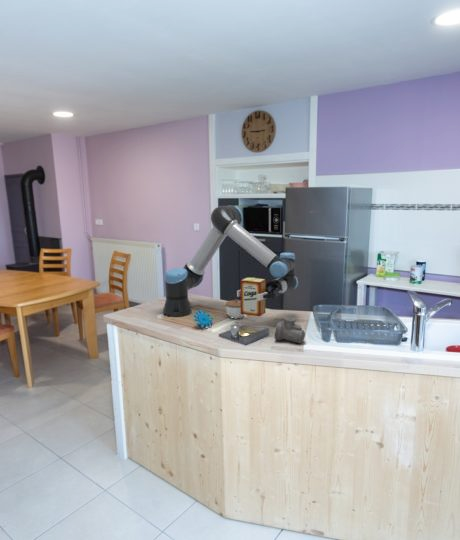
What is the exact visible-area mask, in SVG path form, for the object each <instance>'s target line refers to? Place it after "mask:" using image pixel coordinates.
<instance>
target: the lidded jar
mask: <svg viewBox="0 0 460 540" xmlns="http://www.w3.org/2000/svg"><path fill="white" fill-rule="evenodd" d="M225 311H226V313H227V316H229V318H230V317H233V318H240V319H242V318H243V317H244V316H245V314H241V299H233V300H227V301H226V302H225Z"/></svg>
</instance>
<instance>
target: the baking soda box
mask: <svg viewBox="0 0 460 540" xmlns="http://www.w3.org/2000/svg"><path fill="white" fill-rule="evenodd" d="M266 284H267V281H266V279H265V278H257V277H245V278H242V279H241V280H240V290H241V296H240V300H241V314H244V316H245V315H247V316H254V317H261V316H263V315H264V314H266V304H267V303H266V301H267V300H266V299H267V298H266V299H263V300H260V301H257V295H258V294H261V293H264V292H266Z"/></svg>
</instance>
